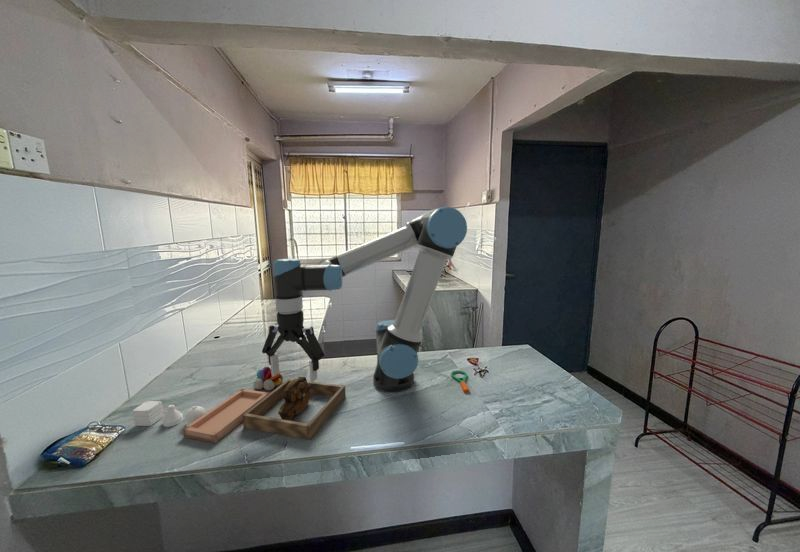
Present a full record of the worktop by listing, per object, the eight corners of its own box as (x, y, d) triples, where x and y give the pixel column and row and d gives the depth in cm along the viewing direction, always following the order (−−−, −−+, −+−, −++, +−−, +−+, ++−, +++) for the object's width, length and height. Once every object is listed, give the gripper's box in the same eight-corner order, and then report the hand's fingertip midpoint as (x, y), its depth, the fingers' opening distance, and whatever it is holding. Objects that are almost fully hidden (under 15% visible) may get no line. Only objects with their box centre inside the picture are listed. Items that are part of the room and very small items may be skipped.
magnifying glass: (449, 373, 121) (449, 369, 121) (464, 372, 121) (464, 368, 121) (458, 394, 106) (458, 389, 106) (475, 393, 106) (475, 389, 106)
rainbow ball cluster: (274, 393, 109) (272, 373, 108) (249, 390, 111) (247, 371, 110) (287, 381, 117) (285, 363, 116) (264, 379, 119) (262, 361, 118)
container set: (134, 427, 92) (131, 410, 91) (149, 416, 97) (146, 400, 97) (199, 428, 91) (196, 411, 90) (210, 417, 96) (208, 401, 95)
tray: (269, 399, 105) (268, 392, 104) (215, 443, 84) (214, 435, 84) (242, 395, 108) (242, 388, 107) (183, 437, 87) (182, 428, 87)
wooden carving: (293, 428, 90) (290, 396, 88) (278, 427, 90) (275, 395, 89) (315, 397, 106) (313, 369, 104) (303, 396, 106) (300, 369, 105)
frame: (345, 396, 105) (345, 385, 105) (310, 439, 84) (309, 426, 84) (289, 389, 111) (288, 378, 111) (243, 427, 90) (242, 415, 90)
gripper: (333, 310, 93) (336, 376, 96) (263, 305, 99) (268, 367, 103) (320, 317, 86) (324, 388, 89) (245, 311, 92) (251, 377, 96)
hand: (294, 377), depth 96 cm, fingers open, 13 cm apart
